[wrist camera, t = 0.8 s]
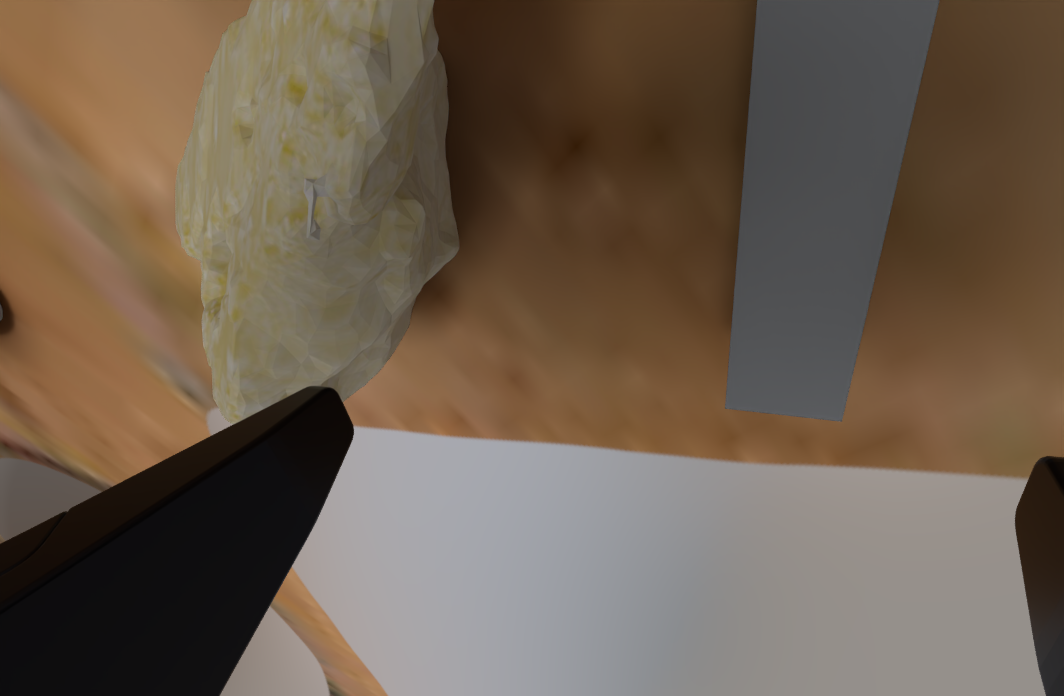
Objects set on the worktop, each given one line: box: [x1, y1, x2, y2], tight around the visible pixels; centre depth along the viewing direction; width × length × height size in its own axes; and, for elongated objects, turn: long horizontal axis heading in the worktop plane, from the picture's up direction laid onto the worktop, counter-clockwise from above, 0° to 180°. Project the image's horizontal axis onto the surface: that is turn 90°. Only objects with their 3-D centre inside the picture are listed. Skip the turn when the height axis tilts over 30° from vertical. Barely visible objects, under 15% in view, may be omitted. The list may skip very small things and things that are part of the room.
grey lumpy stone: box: [175, 0, 459, 424], centre depth 18 cm, size 15×7×15 cm
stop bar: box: [725, 0, 939, 422], centre depth 15 cm, size 3×11×4 cm, turn 7°
